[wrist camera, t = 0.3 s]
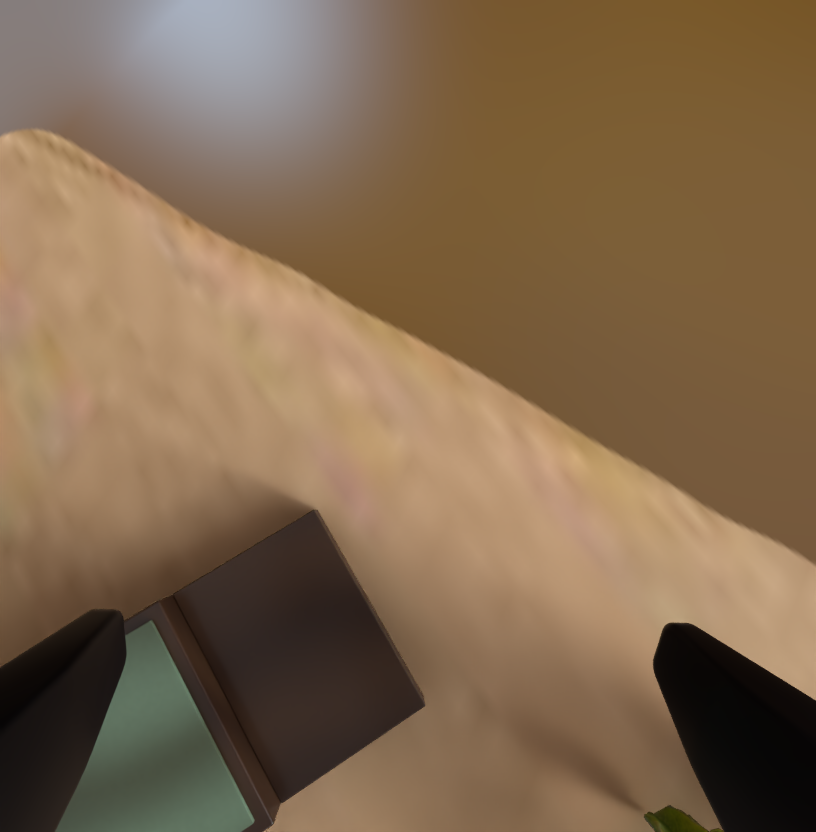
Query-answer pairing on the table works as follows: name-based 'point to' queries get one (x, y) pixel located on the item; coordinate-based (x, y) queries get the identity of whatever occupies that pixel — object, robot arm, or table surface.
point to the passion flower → (674, 821)
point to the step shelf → (243, 693)
